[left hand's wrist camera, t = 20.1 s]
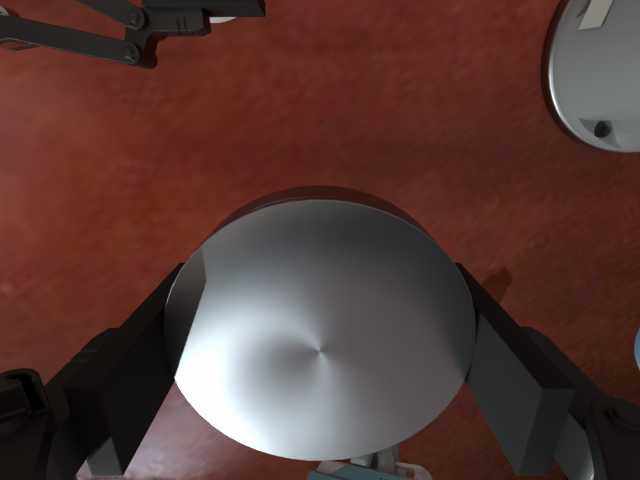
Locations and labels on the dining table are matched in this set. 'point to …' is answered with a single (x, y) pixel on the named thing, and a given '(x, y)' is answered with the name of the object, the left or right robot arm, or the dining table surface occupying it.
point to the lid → (319, 325)
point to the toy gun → (369, 468)
